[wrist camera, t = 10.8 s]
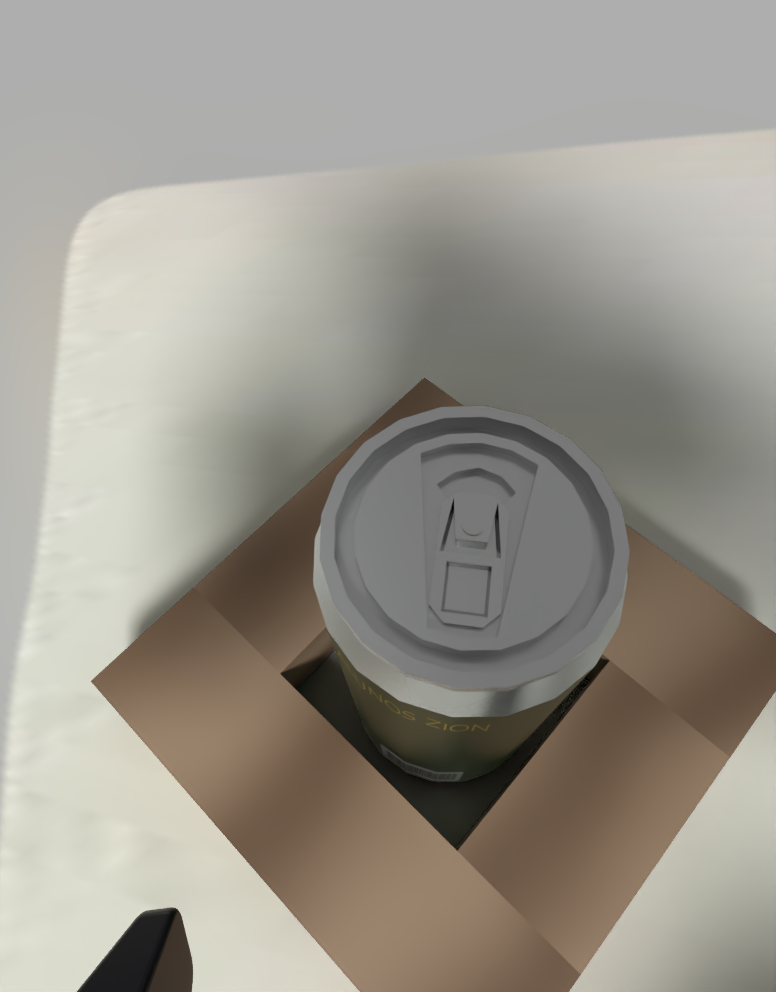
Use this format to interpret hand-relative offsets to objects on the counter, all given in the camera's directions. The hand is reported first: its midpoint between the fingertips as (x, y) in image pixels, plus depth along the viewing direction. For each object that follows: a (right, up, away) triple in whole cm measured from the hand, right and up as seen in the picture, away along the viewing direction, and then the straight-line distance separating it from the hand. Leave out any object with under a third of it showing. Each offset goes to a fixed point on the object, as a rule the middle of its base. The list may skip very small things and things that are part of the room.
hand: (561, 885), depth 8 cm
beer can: (0, -2, +14) cm, 14 cm away
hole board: (0, -1, +14) cm, 14 cm away
